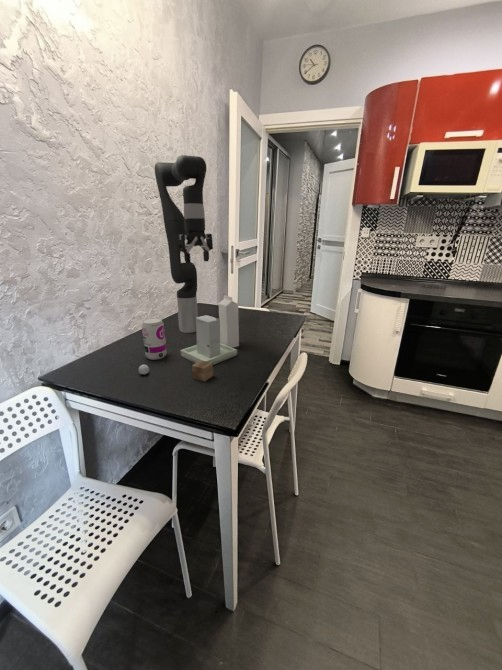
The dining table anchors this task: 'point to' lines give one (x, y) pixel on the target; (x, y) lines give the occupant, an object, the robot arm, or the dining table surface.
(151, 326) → the supplement can
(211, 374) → the walnut block
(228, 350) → the tray
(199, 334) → the skincare box
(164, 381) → the dining table surface
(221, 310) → the milk
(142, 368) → the white egg
